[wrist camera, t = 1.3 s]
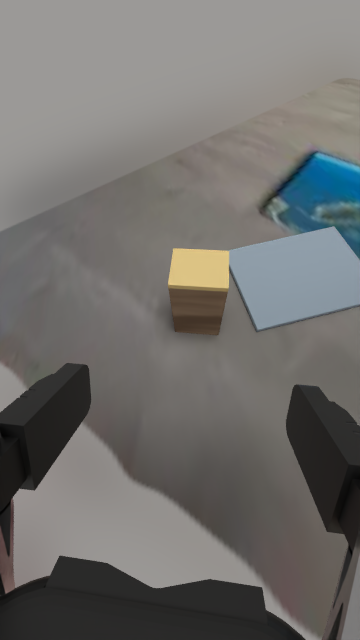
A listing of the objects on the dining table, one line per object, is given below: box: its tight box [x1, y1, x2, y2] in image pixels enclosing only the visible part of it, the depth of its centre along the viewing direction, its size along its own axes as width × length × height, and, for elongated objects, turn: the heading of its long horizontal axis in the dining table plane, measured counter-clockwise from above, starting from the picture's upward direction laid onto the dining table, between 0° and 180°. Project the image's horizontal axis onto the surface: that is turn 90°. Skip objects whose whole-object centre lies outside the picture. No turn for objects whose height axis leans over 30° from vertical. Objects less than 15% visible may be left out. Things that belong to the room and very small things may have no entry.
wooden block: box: [168, 248, 229, 335], centre depth 26 cm, size 4×5×10 cm
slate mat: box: [228, 227, 360, 332], centre depth 32 cm, size 16×12×1 cm
